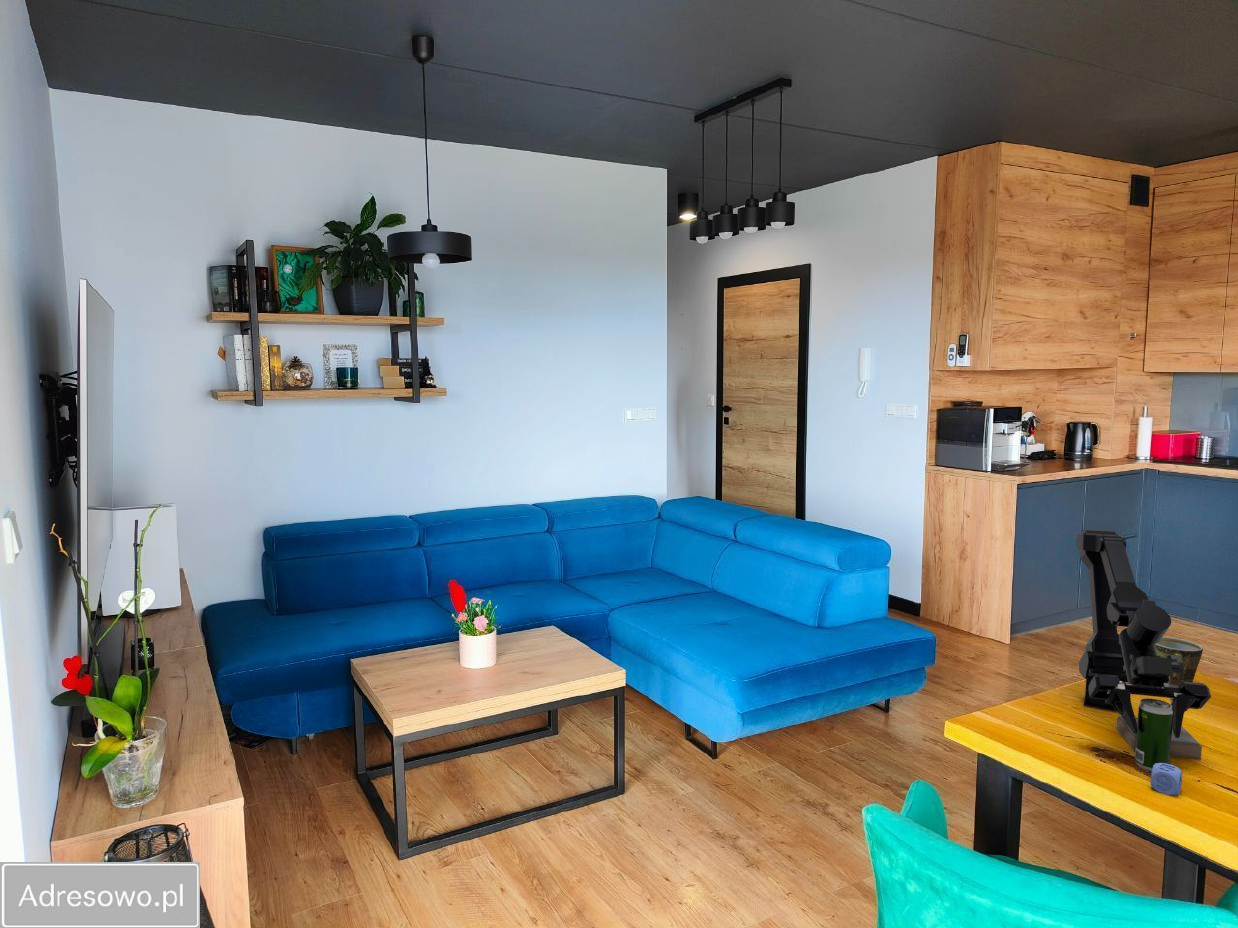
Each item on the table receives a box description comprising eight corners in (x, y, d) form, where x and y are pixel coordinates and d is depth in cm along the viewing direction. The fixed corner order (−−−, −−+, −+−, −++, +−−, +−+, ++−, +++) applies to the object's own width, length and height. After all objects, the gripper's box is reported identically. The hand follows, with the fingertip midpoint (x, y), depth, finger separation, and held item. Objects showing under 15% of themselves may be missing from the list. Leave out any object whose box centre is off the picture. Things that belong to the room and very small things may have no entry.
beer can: (1151, 774, 147) (1156, 710, 146) (1127, 761, 152) (1131, 698, 151) (1176, 771, 148) (1181, 707, 147) (1151, 758, 153) (1155, 696, 152)
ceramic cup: (1147, 674, 199) (1150, 634, 198) (1197, 682, 194) (1200, 641, 193) (1150, 691, 187) (1153, 649, 186) (1203, 700, 182) (1207, 657, 181)
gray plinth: (1116, 729, 167) (1117, 714, 166) (1177, 735, 164) (1179, 721, 163) (1134, 752, 156) (1135, 737, 156) (1200, 759, 153) (1202, 744, 153)
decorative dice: (1181, 789, 142) (1183, 767, 141) (1177, 798, 139) (1179, 775, 138) (1154, 782, 144) (1155, 760, 144) (1149, 790, 141) (1151, 768, 141)
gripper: (1096, 632, 154) (1110, 710, 145) (1210, 641, 149) (1233, 723, 140) (1082, 659, 163) (1095, 735, 153) (1190, 668, 158) (1210, 747, 148)
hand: (1156, 734), depth 148 cm, fingers open, 6 cm apart
